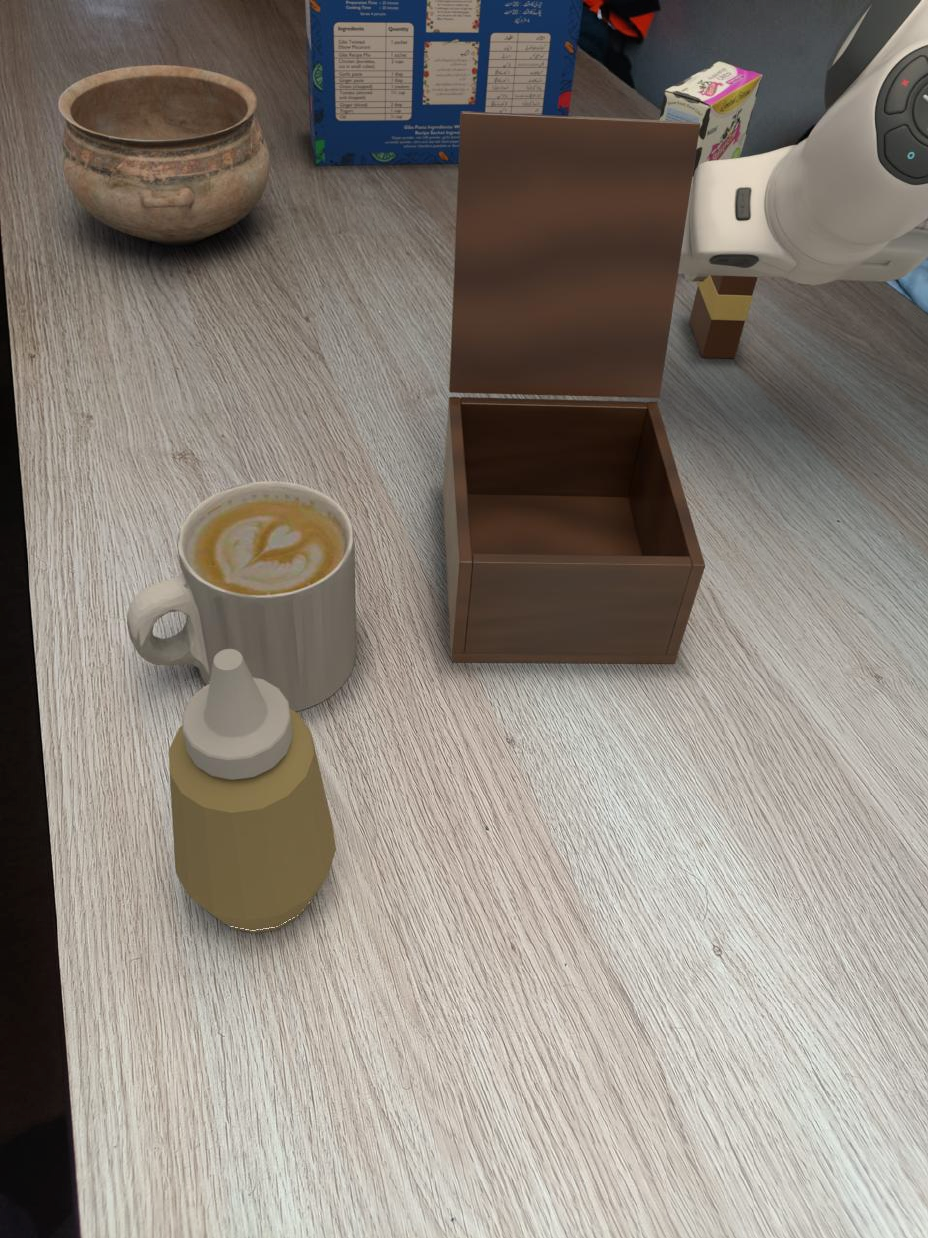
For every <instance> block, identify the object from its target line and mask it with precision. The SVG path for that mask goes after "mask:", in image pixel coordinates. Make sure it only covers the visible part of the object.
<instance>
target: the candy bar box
mask: <svg viewBox="0 0 928 1238" xmlns="http://www.w3.org/2000/svg"><path fill="white" fill-rule="evenodd" d="M762 78H763V74H762V73H758V72H755V71H753V70H750V69H747V68H743V67H741V66H738V65H733V64H729V63H726V62H723V61H717V62H715V63H713V64H712V65H710V66H708V67H706V68H704V69H702V70H700V71H698V72H697V73H695V74H692V75H691V76H689V77H687V78H686V79H683V80H682V81H680V82H678V83H676V84H674V85H672V86H670V87H668V88H666V89H664V95H663V100H662V105H661V111H660V115H659V119H658V120H665V121H686V122H698V123H700V130H699V137H698V143H697V150H696V157H695V164H694V170H693V177H692V184H693V179H694V173H695V170H696V168H697V167H698V166H699V165H700V164H702V163H704V162H708V161H714V160H722V159H731V158H739V157H742V151H743V148H744V145H745V142H746V137H747V135H748V130H749V126H750V123H751V119H752V115H753V112H754V108H755V103H756V100H757V96H758V93H759V88H760V84H761V82H762ZM692 184H691V185H692Z"/></svg>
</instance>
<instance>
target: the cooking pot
mask: <svg viewBox="0 0 928 1238" xmlns="http://www.w3.org/2000/svg"><path fill="white" fill-rule="evenodd" d="M57 105H58V111H59V112H60V114H61V116H62V117H63V118H64V119H65V122H64V126H63V132H62V138H61V152H60V155H61V156H60V157H61V165H62V172H63V177H64V179H65V181H66V183H67V185H68V187H69V189H70V190H71V192H72V194H73V195H74V197H75V199H76V200H77V202H78V203H79V204H80V205H81V206H82V207H83V208H84V209H85V210H86V211H87V212H88V213H89V214H90V215H91V216H92V217H94V218H95V219H96V220H98V221H100V222H102V223H103V224H105V225H106V226H108V227H110V228H112V229H114V230H116V231H119V232H121V233H124V234H126V235H130V236H132V237H134V238H135V237H136V238H138V239H142V240H145V241H146V240H147V241H149V242H152V243H155V244H157V245H158V244H159V245H162V246H170V247H173V246H175V247H179V246H188V245H192V244H196V243H200V242H202V241H203V240H205V239H207V238H209V237H211V236H213V235H216V234H218V233H220V232H222V231H224V230H226V229H228V228H230V227H232V226H234V225H235V224H237V223H238V222H240V221H242V219H244V218H245V217H246V216H248V215H249V214H250V213H251V212H252V210H253V209H254V208H255V207H256V206H257V204H258V203H259V202H260V200H261V198H262V196H263V193H264V191H265V188H266V186H267V184H268V180H269V177H270V152H269V148H268V145H267V142H266V139H265V136H264V133H263V131H262V129H261V126H260V123H259V122H258V119H257V118H256V115H255V112H256V111H257V108H258V97H257V96H256V93H255V92H254V91H253V89H251V87H250V86H249V85H248V84H246V83H244V82H243V81H242V80H239V79H237V78H235V77H233V76H231V75H228V74H225V73H221V72H219V71H214V70H210V69H205V68H201V67H200V68H199V67H192V66H187V65H186V66H184V65H172V64H171V65H169V64H168V65H167V64H151V65H137V66H126V67H120V68H115V69H109V70H105V71H102V72H97V73H95V74H92V75H89V76H87V77H84V78H82V79H79V80H78V81H76V82H74V83H72V84H71V85H70V86H68V87H67V88H66V89H65V90H64V91H63V92H62V93H61V94H60V96H59V98H58V101H57Z"/></svg>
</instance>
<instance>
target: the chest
mask: <svg viewBox="0 0 928 1238" xmlns="http://www.w3.org/2000/svg"><path fill="white" fill-rule="evenodd" d="M447 404H448V405H447V418H446V419H447V420H446V434H445V435H446V436H445V437H446V438H445V452H444V467H443V483H442V484H443V485H442V487H443V488H442V508H443V509H442V511H443V529H444V530H443V532H444V548H445V549H444V550H445V567H446V587H447V605H448V625H449V627H448V628H449V645H450V647H449V648H450V661H451V663H515V664H516V663H520V664H521V663H522V664H524V663H525V664H527V663H528V664H529V663H531V664H532V663H534V664H538V663H539V664H541V663H542V664H544V663H545V664H561V663H562V664H566V663H567V664H676V661H677V659H678V655H679V652H680V648H681V645H682V642H683V639H684V634H685V632H686V630H687V629H686V628H687V626H688V623H689V619H690V617H691V613H692V610H693V606H694V603H695V600H696V597H697V593H698V590H699V587H700V584H701V581H702V578H703V574H704V572H705V568H706V564H705V560H704V556H703V553H702V550H701V546H700V543H699V539H698V536H697V532H696V529H695V526H694V523H693V519H692V516H691V512H690V509H689V506H688V502H687V498H686V494H685V491H684V487H683V485H682V481H681V478H680V474H679V471H678V468H677V464H676V462H675V457H674V454H673V451H672V447H671V445H670V441H669V438H668V434H667V431H666V427H665V424H664V421H663V417H662V414H661V410H660V407H659V406H660V405H659V404H658V402H657V401H636V400H635V401H633V400H632V401H631V400H630V401H629V400H628V401H627V400H597V399H596V400H594V399H590V400H589V399H557V398H556V399H555V398H554V399H552V398H551V399H550V398H518V397H517V398H514V397H513V398H512V397H478V396H477V397H476V396H475V397H473V396H472V397H470V396H461V397H460V396H449V397H448V403H447Z"/></svg>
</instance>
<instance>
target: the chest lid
mask: <svg viewBox="0 0 928 1238" xmlns="http://www.w3.org/2000/svg"><path fill="white" fill-rule="evenodd" d="M699 130H700V123H698V122H686V121H665V120H659V119H643V118H642V119H637V118H622V117H621V118H619V117H596V116H579V115H578V116H577V115H569V116H557V115H535V114H514V113H492V112H471V111H461V116H460V139H459V163H458V166H457V187H456V188H457V191H456V212H455V213H456V214H455V234H454V235H455V238H454V257H453V259H454V260H453V281H452V282H453V283H452V304H451V305H452V307H451V327H450V329H451V330H450V331H451V333H450V352H449V353H450V355H449V374H448V375H449V376H448V377H449V378H448V392H449V393H451V394H483V395H484V394H485V395H486V394H487V395H488V394H489V395H522V396H523V395H525V396H526V395H529V396H561V397H563V396H565V397H566V396H567V397H603V398H639V399H642V398H643V399H659V398H660V397H661V390H662V384H663V377H664V371H665V364H666V357H667V350H668V345H669V344H668V343H669V338H670V330H671V324H672V317H673V310H674V305H675V297H676V290H677V284H678V276H679V274H678V271H679V264H680V257H681V251H682V244H683V237H684V231H685V224H686V217H687V210H688V204H689V197H690V190H691V184H692V177H693V170H694V164H695V157H696V150H697V143H698V137H699Z"/></svg>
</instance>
